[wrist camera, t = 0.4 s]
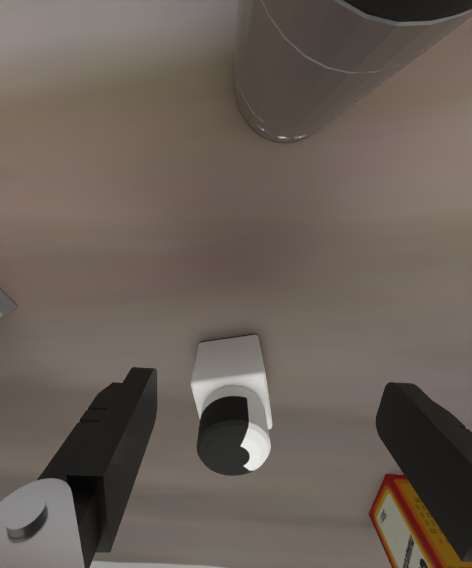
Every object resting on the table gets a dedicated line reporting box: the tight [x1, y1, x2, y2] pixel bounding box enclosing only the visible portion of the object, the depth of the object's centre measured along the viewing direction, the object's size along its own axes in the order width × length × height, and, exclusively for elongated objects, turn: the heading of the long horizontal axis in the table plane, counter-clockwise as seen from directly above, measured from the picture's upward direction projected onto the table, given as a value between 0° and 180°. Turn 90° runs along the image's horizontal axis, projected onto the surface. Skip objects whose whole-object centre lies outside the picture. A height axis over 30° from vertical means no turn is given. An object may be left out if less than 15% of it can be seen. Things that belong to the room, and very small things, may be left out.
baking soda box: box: [369, 474, 472, 568], centre depth 33 cm, size 10×6×16 cm
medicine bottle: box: [191, 335, 273, 476], centre depth 26 cm, size 7×7×12 cm
